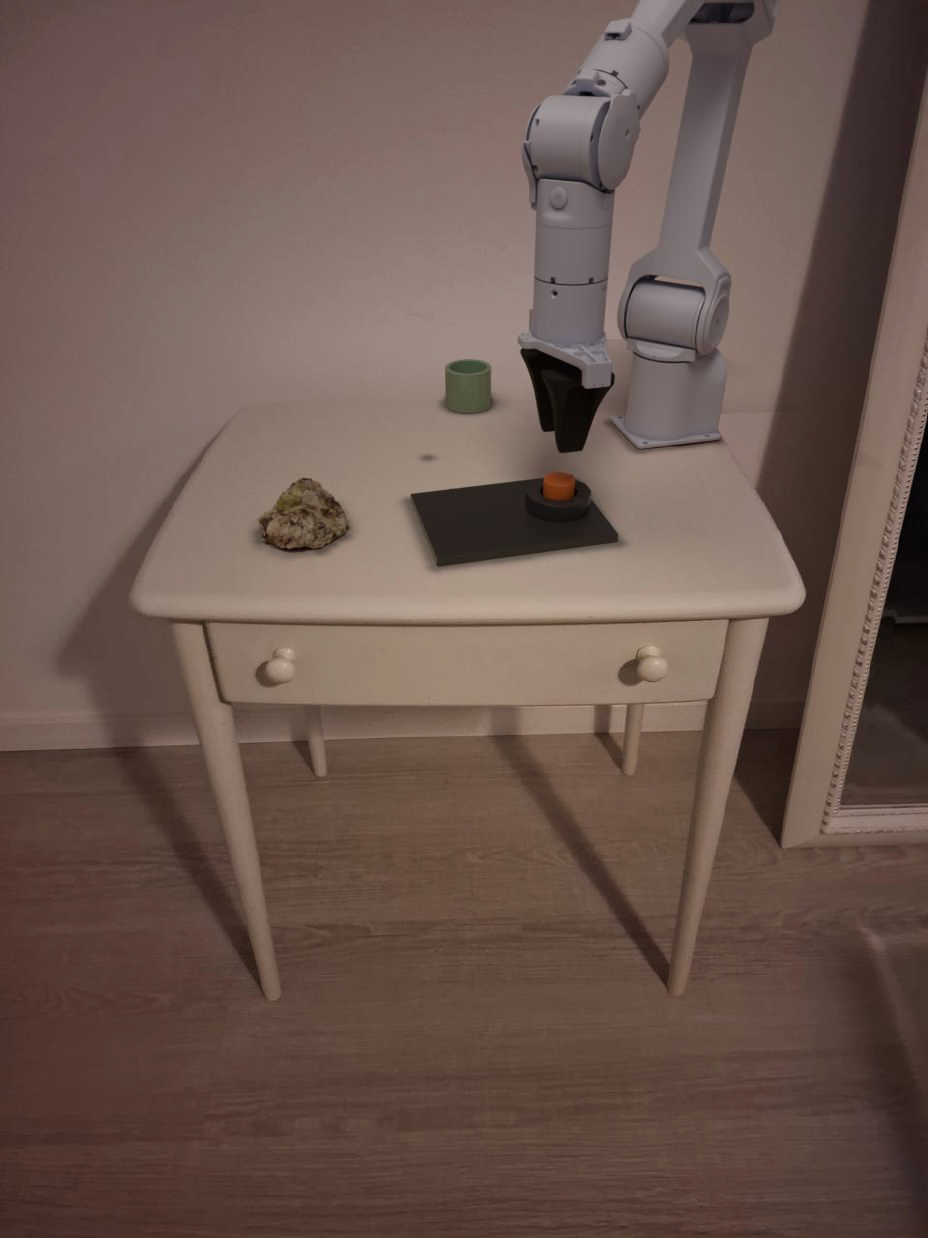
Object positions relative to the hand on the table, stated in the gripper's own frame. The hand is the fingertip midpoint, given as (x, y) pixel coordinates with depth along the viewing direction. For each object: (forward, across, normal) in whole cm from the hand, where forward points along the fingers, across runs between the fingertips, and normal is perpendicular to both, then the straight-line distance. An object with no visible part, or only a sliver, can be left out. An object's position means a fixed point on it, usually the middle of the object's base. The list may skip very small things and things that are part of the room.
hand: (561, 439), depth 75 cm
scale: (+7, 0, -4) cm, 9 cm away
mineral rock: (+8, -4, -22) cm, 24 cm away
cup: (+7, -28, -2) cm, 29 cm away
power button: (+5, 0, 0) cm, 5 cm away
